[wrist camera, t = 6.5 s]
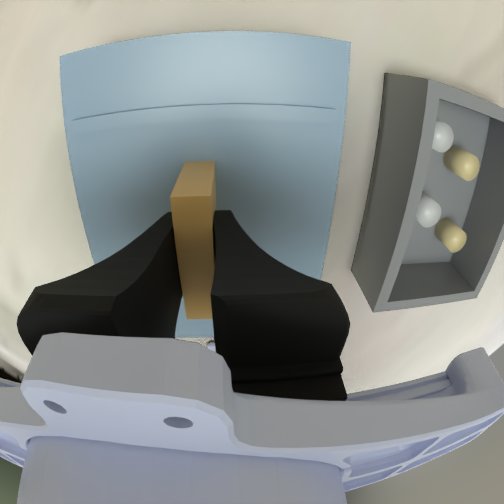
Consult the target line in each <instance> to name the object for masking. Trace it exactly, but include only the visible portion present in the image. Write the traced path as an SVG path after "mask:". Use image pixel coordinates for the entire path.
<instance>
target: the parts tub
mask: <svg viewBox="0 0 504 504" xmlns="http://www.w3.org/2000/svg"><path fill="white" fill-rule="evenodd" d="M503 239H504V108H502V107H500V106H497V105H495V104H493V103H491V102H489V101H486V100H484V99H482V98H479V97H477V96H474V95H472V94H469V93H467V92H464V91H462V90H459V89H456V88H454V87H451V86H448V85H445V84H442V83H439V82H436V81H433V80H430V79H425V78H419V77H412V76H405V75H397V74H389V73H385V76H384V87H383V97H382V107H381V115H380V123H379V131H378V138H377V145H376V152H375V158H374V164H373V170H372V176H371V182H370V187H369V192H368V198H367V203H366V208H365V213H364V217H363V222H362V227H361V231H360V236H359V240H358V244H357V249H356V253H355V257H354V261H353V265H352V269H351V271H352V273H353V275H354V276H355V278H356V280H357V282H358V284H359V286H360V288H361V290H362V292H363V294H364V296H365V298H366V300H367V302H368V304H369V305H370V307H371V309H372V311H373V312H382V311H390V310H399V309H407V308H415V307H422V306H429V305H436V304H443V303H449V302H455V301H462V300H468V299H473V298H477V296H478V294H479V292H480V290H481V288H482V286H483V284H484V282H485V280H486V278H487V276H488V274H489V272H490V270H491V267H492V265H493V263H494V261H495V258H496V256H497V254H498V252H499V249H500V247H501V244H502V242H503Z"/></svg>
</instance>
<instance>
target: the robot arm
mask: <svg viewBox="0 0 504 504" xmlns="http://www.w3.org/2000/svg"><path fill="white" fill-rule="evenodd" d="M213 226H214V247H215V270H214V278H213V284H212V289H211V294H210V296H211V308H212V319H213V330H214V340H215V342H214V343H209V344H208V345H207V348H206V347H205V346H203V345H201V344H199V343H197V342H191V341H185V340H179V339H175V331H176V324H177V318H178V313H179V308H180V304H181V299H182V294H183V293H182V287H181V280H180V274H179V267H178V260H177V252H176V245H175V237H174V228H173V220H172V212H167V213H166V214H164V215H163V216H162V217H161V218H160V219H159V220H157V221H156V222H155V223H154V224H153V225H152V226H150V227H149V228H148V229H147V230H146V231H145V232H143V233H142V234H141V235H140V236H138V237H137V238H136V239H134V240H133V241H132V242H131V243H129V244H128V245H127V246H125V247H124V248H122V249H121V250H119V251H118V252H116V253H114V254H113V255H111V256H110V257H108V258H106V259H104V260H102V261H101V262H99V263H97V264H95V265H93V266H91V267H89V268H87V269H85V270H83V271H80V272H78V273H76V274H73V275H71V276H68V277H66V278H63V279H60V280H57V281H54V282H51V283H48V284H44V285H41V286H38V287H35V289H34V290H33V292H32V294H31V295H30V297H29V298H28V300H27V302H26V304H25V305H24V307H23V309H22V310H21V312H20V314H19V316H18V319H17V327H18V332H19V334H20V336H21V338H22V340H23V342H24V344H25V345H26V347H27V348H28V350H29V351H30V353H31V354H32V358H31V360H30V363H29V365H28V368H27V370H26V373H25V375H24V378H23V380H22V383H21V384H20V383H16V382H12V381H9V380H5V379H1V378H0V457H2V458H4V459H6V460H8V461H10V462H12V463H14V464H16V465H18V466H21V467H23V471H22V476H21V481H20V487H19V493H18V499H17V504H347V502H346V497H345V491H349V490H352V489H356V488H359V487H362V486H366V485H369V484H372V483H375V482H378V481H381V480H384V479H386V478H389V477H392V476H394V475H397V474H400V473H402V472H405V471H407V470H410V469H412V468H415V467H417V466H419V465H422V464H424V463H426V462H429V461H430V460H433V459H435V458H437V457H440V456H442V455H444V454H446V453H448V452H450V451H452V450H454V449H456V448H458V447H460V446H462V445H464V444H466V443H468V442H470V441H472V440H473V439H475V438H476V437H477V436H479V435H480V434H481V433H482V432H483V431H484V430H486V429H487V428H488V427H489V426H491V425H492V424H493V423H494V422H495V421H496V420H497V419H499V418H500V417H501V416H502V415H503V414H504V382H503V381H502V379H501V377H500V375H499V373H498V372H497V370H496V368H495V366H494V365H493V363H492V361H491V360H490V358H489V356H488V355H487V353H486V351H485V350H484V348H478V349H474V350H471V351H468V352H465V353H462V354H460V355H458V356H457V357H455V358H454V359H453V360H452V362H451V363H450V364H449V366H448V367H447V369H446V371H444V372H441V373H437V374H434V375H430V376H427V377H423V378H419V379H416V380H412V381H408V382H404V383H399V384H395V385H391V386H386V387H381V388H377V389H372V390H366V391H361V392H356V393H350V394H347V393H346V390H345V387H344V384H343V380H342V377H341V374H340V373H342V371H343V366H342V363H341V360H340V355H341V352H342V350H343V347H344V345H345V342H346V339H347V336H348V334H349V328H350V321H349V317H348V314H347V311H346V309H345V307H344V304H343V303H342V301H341V299H340V297H339V295H338V294H337V292H336V291H335V289H334V287H333V286H332V284H330V283H327V282H324V281H321V280H318V279H316V278H313V277H310V276H307V275H305V274H303V273H300V272H298V271H296V270H294V269H292V268H290V267H288V266H286V265H284V264H283V263H281V262H279V261H278V260H276V259H275V258H273V257H272V256H270V255H269V254H268V253H266V252H265V251H264V250H262V249H261V248H260V247H259V246H258V245H257V244H256V243H255V242H254V241H253V240H252V239H251V238H250V237H249V236H248V235H247V233H246V232H245V231H244V230H243V228H242V227H241V226H240V224H239V223H238V221H237V220H236V218H235V216H234V214H233V212H232V211H231V210H215V212H214V217H213Z"/></svg>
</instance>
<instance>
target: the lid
mask: <svg viewBox="0 0 504 504" xmlns="http://www.w3.org/2000/svg"><path fill="white" fill-rule="evenodd" d="M350 45H351V42H347V41H342V40H336V39H330V38H323V37H316V36H308V35H300V34H289V33H277V32H259V31H208V32H190V33H178V34H168V35H159V36H151V37H144V38H137V39H131V40H126V41H120V42H115V43H110V44H105V45H101V46H97V47H92V48H88V49H84V50H80V51H77V52H73V53H70V54H66V55H63V56H60V76H61V92H62V104H63V115H64V123H65V131H66V139H67V146H68V152H69V158H70V164H71V170H72V175H73V180H74V185H75V190H76V195H77V199H78V204H79V208H80V212H81V217H82V221H83V225H84V228H85V232H86V236H87V240H88V243H89V247H90V250H91V254H92V257H93V260H94V264H97V263H99V262H101V261H102V260H104V259H106V258H108V257H110V256H111V255H113V254H114V253H116V252H118V251H119V250H121V249H122V248H124V247H125V246H127V245H128V244H129V243H131V242H132V241H133V240H134V239H136V238H137V237H138V236H140V235H141V234H142V233H143V232H145V231H146V230H147V229H148V228H149V227H150V226H152V225H153V224H154V223H155V222H156V221H157V220H159V219H160V218H161V217H162V216H163V215H164V214H166V213H167V212H172V220H173V228H174V237H175V245H176V252H177V260H178V267H179V274H180V280H181V287H182V293H183V294H182V299H181V304H180V308H179V313H178V318H177V324H176V331H175V337H214V330H213V319H212V308H211V296H210V294H211V289H212V284H213V278H214V270H215V247H214V226H213V217H214V212H215V210H231V211H232V212H233V214H234V216H235V218H236V220H237V221H238V223H239V224H240V226H241V227H242V228H243V230H244V231H245V232H246V233H247V235H248V236H249V237H250V238H251V239H252V240H253V241H254V242H255V243H256V244H257V245H258V246H259V247H260V248H261V249H262V250H264V251H265V252H266V253H268V254H269V255H270V256H272V257H273V258H275V259H276V260H278V261H279V262H281V263H283V264H284V265H286V266H288V267H290V268H292V269H294V270H296V271H298V272H300V273H303V274H305V275H307V276H310V277H313V278H316V279H318V280H321V275H322V270H323V264H324V259H325V254H326V248H327V243H328V237H329V231H330V226H331V220H332V213H333V207H334V201H335V194H336V187H337V180H338V173H339V165H340V158H341V150H342V141H343V132H344V123H345V113H346V102H347V91H348V78H349V63H350Z"/></svg>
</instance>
